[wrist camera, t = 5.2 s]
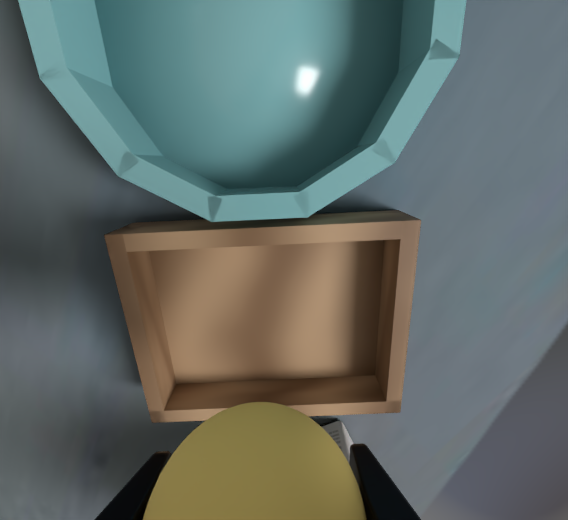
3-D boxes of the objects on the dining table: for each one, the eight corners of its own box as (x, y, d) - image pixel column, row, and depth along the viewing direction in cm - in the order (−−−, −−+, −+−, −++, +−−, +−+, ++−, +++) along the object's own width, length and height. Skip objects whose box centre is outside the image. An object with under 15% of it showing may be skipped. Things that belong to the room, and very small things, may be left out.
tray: (398, 210, 15) (421, 220, 12) (384, 378, 18) (400, 412, 16) (133, 222, 15) (103, 235, 12) (169, 387, 18) (151, 422, 16)
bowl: (444, -221, 10) (522, -402, 7) (406, 201, 15) (441, 213, 11) (30, -195, 10) (-88, -361, 7) (123, 215, 15) (79, 230, 12)
